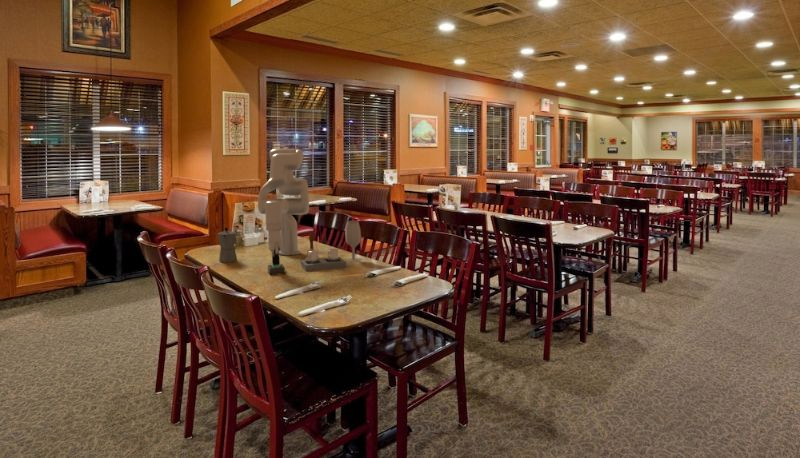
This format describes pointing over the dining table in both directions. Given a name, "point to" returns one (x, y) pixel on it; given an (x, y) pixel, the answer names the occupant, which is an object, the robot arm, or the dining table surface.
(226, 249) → the coffeepot
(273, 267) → the button
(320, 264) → the tray
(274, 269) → the button housing
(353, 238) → the wineglass
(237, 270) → the dining table surface
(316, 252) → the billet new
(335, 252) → the billet
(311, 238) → the hand bell
